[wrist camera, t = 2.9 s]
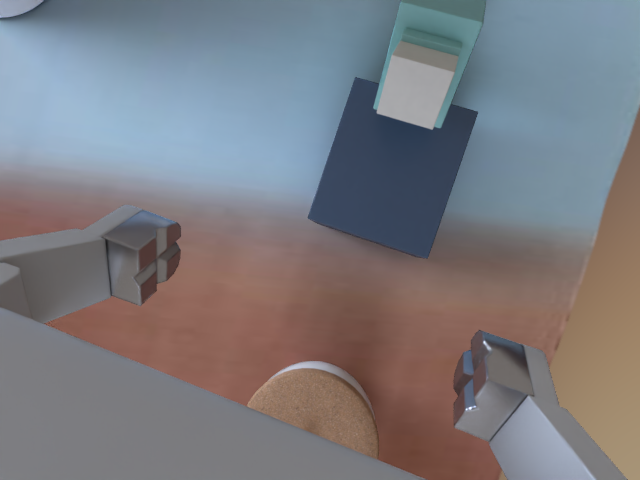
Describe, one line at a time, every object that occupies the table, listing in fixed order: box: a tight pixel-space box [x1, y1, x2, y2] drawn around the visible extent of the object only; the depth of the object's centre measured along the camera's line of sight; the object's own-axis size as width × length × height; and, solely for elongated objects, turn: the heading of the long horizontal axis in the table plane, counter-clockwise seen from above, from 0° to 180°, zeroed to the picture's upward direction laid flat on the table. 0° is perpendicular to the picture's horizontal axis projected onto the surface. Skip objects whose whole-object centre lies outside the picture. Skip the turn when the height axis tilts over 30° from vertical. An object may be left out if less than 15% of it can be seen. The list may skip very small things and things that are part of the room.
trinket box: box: [247, 361, 379, 460], centre depth 33 cm, size 11×11×9 cm
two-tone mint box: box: [373, 0, 486, 130], centre depth 30 cm, size 16×5×16 cm, turn 161°
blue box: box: [308, 77, 478, 258], centre depth 35 cm, size 13×10×6 cm
